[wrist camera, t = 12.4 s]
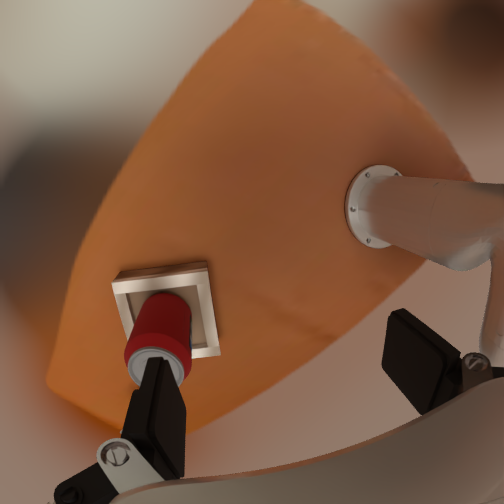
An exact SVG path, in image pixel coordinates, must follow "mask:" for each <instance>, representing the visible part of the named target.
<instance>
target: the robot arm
mask: <svg viewBox="0 0 504 504" xmlns="http://www.w3.org/2000/svg"><path fill="white" fill-rule="evenodd" d="M365 175H366V176H365ZM350 208H351V210H350ZM345 214H346V220H347V223H348V226H349V228H350V230H351V232H352V234H353V235H354V236H355V237H356V239H357V240H359V241H360V242H361V243H363V244H365V245H367V246H369V247H372V248H379V249H380V248H386V247H388V246H391V245H395V246H397V247H400V248H402V249H405V250H407V251H409V252H412V253H414V254H417V255H419V256H422V257H424V258H426V259H429V260H431V261H433V262H436V263H438V264H440V265H443V266H446V267H448V268H450V269H453V270H457V271H467V270H471V269H474V268H476V267H478V266H480V265H481V264H483V263H484V262H486V261H487V260H489V259H490V261H491V267H492V268H491V278H490V288H489V293H488V298H487V304H486V309H485V313H484V317H483V323H482V327H481V332H480V337H479V351H480V353H476V352H473V353H468V354H466V355H465V356H464V357H463V358H462V359H461V358H460V354H461V352H460V351H458V350H457V349H456V348H455V347H453V346H452V345H451V344H450V343H448V342H447V341H446V340H445V339H443V338H442V337H441V336H440V335H438V334H437V333H436V332H435V331H433V330H432V329H431V328H429V327H428V326H427V325H426V324H424V323H423V322H421V321H420V320H419V319H418V318H416V317H415V316H414V315H412V314H411V313H410V312H408V311H407V310H406V309H404V308H402V309H399V310H395V311H392V312H391V314H390V316H389V317H388V321H387V330H386V337H385V344H384V351H383V357H382V368H383V370H384V371H385V372H386V374H388V376H389V377H390V378H391V380H392V381H393V382H394V383H395V384H396V386H398V388H399V389H400V390H401V392H402V393H403V394H404V395H405V396H406V398H407V399H408V400H409V401H410V403H411V404H412V405H413V406H414V407H415V409H416V410H417V411H418V412H419V414H421V415H422V416H420V417H418V418H416V419H414V420H412V421H410V422H408V423H406V424H404V425H402V426H399V427H397V428H395V429H393V430H390V431H388V432H386V433H384V434H381V435H379V436H376V437H374V438H371V439H369V440H366V441H364V442H361V443H358V444H355V445H353V446H350V447H347V448H344V449H341V450H338V451H335V452H331V453H328V454H325V455H322V456H318V457H314V458H311V459H307V460H303V461H299V462H295V463H291V464H287V465H282V466H277V467H272V468H267V469H261V470H255V471H249V472H242V473H235V474H228V475H219V476H209V477H198V478H187V479H180V477H184V467H185V465H184V464H185V433H186V407H185V404H184V401H183V398H182V396H181V393H180V391H179V388H178V385H177V383H176V380H175V377H174V374H173V372H172V369H171V366H170V363H169V361H168V360H164V358H163V357H162V356H160V357H149V358H148V360H147V363H146V367H145V370H144V374H143V377H142V381H141V385H140V388H139V390H134V391H133V393H132V397H131V400H130V404H129V407H128V411H127V415H126V418H125V422H124V426H123V430H122V434H121V438H115V439H110V440H108V441H106V442H104V443H103V444H102V445H101V446H100V447H99V448H98V451H97V460H98V462H97V463H95V464H94V465H92V466H90V467H88V468H87V469H85V470H83V471H81V472H80V473H78V474H76V475H74V476H72V477H71V478H69V479H67V480H65V481H63V482H62V483H60V484H59V485H58V486H57V488H56V489H55V492H54V500H55V501H54V502H53V503H52V504H504V184H491V183H477V182H467V181H457V180H447V179H436V178H423V177H408V176H402V174H401V173H400V172H399V171H397V170H396V169H394V168H392V167H390V166H386V165H373V166H369V167H367V168H365V169H363V170H362V171H361V172H360V173H358V174H357V176H356V177H355V178H354V179H353V181H352V183H351V184H350V186H349V189H348V192H347V195H346V201H345ZM47 504H51V503H49V502H48V503H47Z"/></svg>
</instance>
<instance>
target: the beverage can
mask: <svg viewBox="0 0 504 504" xmlns="http://www.w3.org/2000/svg"><path fill="white" fill-rule="evenodd" d="M160 356H162V357H163V358H164V360H168V361H169V363H170V366H171V369H172V372H173V374H174V377H175V380H176V383H177V385H178V387H179V386H180V384H181V383H182V381H183V380H185V379H186V377H187V376H188V375H189V373H190V370H191V366H192V313H191V310H190V308H189V306H188V305H187V304H186V302H185V301H184V300H182V299H181V298H180V297H178V296H176V295H173V294H169V293H159V294H155V295H153V296H151V297H149V298H148V299H147V300H146V301H145V302H144V303H143V305H142V307H141V310H140V312H139V314H138V316H137V319H136V321H135V324H134V326H133V329H132V331H131V334H130V337H129V340H128V342H127V345H126V348H125V352H124V359H125V363H126V366H127V368H128V372H129V374H130V376H131V378H132V379H133V381H134V382H135V383H136V384H137V385H139V386H140V385H141V381H142V377H143V374H144V370H145V367H146V363H147V360H148V358H149V357H160Z"/></svg>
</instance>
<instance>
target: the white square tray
mask: <svg viewBox="0 0 504 504" xmlns="http://www.w3.org/2000/svg"><path fill="white" fill-rule="evenodd" d="M112 287H113V291H114V295H115V299H116V303H117V306H118V310H119V313H120V317H121V320H122V324H123V327H124V330H125V333H126V336H127V340H129V337H130V334H131V331H132V329H133V326H134V324H135V321H136V319H137V316H138V314H139V312H140V310H141V307H142V305H143V303H144V302H145V301H146V300H147V299H148V298H149V297H151V296H153V295H155V294H159V293H169V294H173V295H176V296H178V297H180V298H181V299H182V300H184V301H185V302H186V304H187V305H188V306H189V308H190V310H191V313H192V359H193V358H201V357H209V356H217V355H221V353H220V346H219V339H218V333H217V327H216V321H215V315H214V308H213V302H212V295H211V288H210V281H209V274H208V267H207V261H203V262H195V263H187V264H179V265H171V266H164V267H156V268H148V269H140V270H132V271H124V272H120V273H119V274H118V275H117V277H116V278H115V279H114V280H113V282H112Z"/></svg>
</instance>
